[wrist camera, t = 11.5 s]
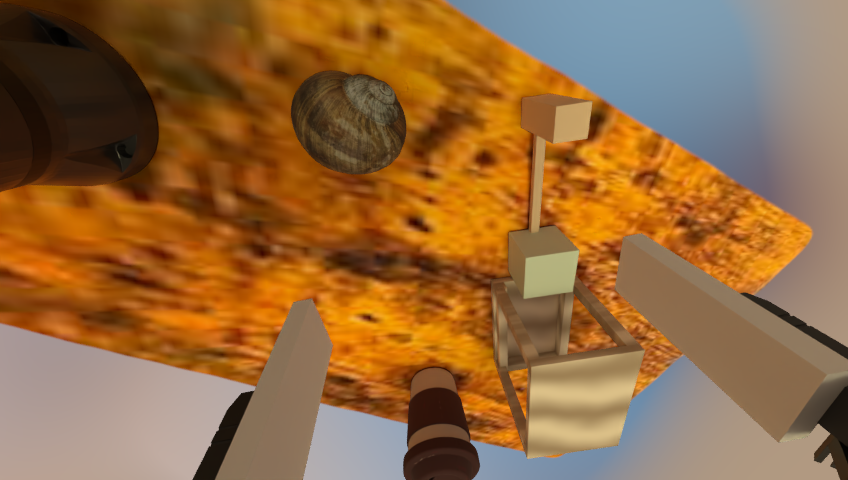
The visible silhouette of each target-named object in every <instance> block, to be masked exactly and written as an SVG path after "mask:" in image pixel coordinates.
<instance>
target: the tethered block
mask: <svg viewBox="0 0 848 480" xmlns="http://www.w3.org/2000/svg"><path fill="white" fill-rule="evenodd" d="M591 108H592V101H588V100H583V99H577V98H572V97H566V96H560V95H555V94H545V95H538V96H531V97H524V98H522V113H521V128H523V129H525V130H527V131H529V132H531V133H533V134H534V142H533V160H532V178H531V197H530V215H529V229H528V230H521V231H514V232H509V249H508V271H509V273H510V274H511V276H512V278H513V280H514V282H515V284H516V286H517V287H518V289H519V291H520V293H521V295H522V297H523V299H527V298H534V297H540V296H547V295H554V294H561V293H568V292H573V287H574V281H575V274H576V268H577V262H578V255H579V249H578V248H577V247H576V246H575V245H574V244H573V243H572V242H571V241H570V240H569V239H568V238H567V237H566V236H565V235H564V234H563V233H562V232H561V231H560V230H559V229H558V228H557V227H556V226H548V227H542V228H539V224H540V211H541V198H542V184H543V171H544V157H545V144H546V140H547V141H549V142H551V143H553V144H554V143H561V142H568V141H574V140H581V139H587V136H588V129H589V122H590V115H591Z"/></svg>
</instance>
